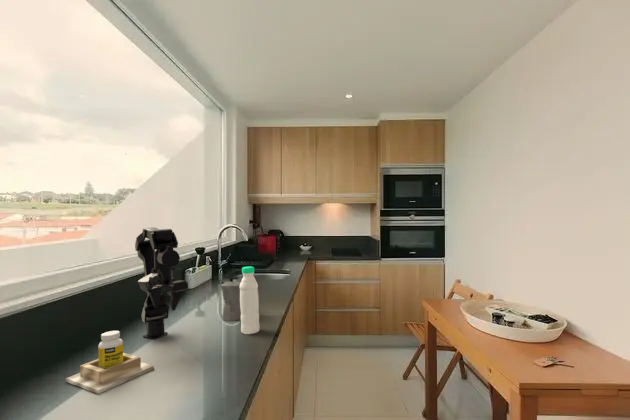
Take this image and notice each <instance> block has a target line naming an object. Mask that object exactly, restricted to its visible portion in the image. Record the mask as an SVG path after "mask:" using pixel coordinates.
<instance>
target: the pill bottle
mask: <svg viewBox="0 0 630 420" xmlns="http://www.w3.org/2000/svg"><path fill="white" fill-rule="evenodd" d="M120 337H121V331H119V330H110V331H105V332H104V333H101V334H100V339H101V341H100V342H99V344H98V346H97V347H98V348H97V351H98V358H97V359H99V368H102V369H107V368H109V367H112V366H114V365H117V364H120V363H122V362H123V353H124V341H123V339H122V338H120Z"/></svg>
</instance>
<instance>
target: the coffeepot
mask: <svg viewBox="0 0 630 420" xmlns="http://www.w3.org/2000/svg"><path fill="white" fill-rule="evenodd" d="M241 282H242V281H240V282H239V281H234V277H232V276H230V277H229V281H225V280H222V281H221V284H220V288H221V289H220V290H221V292H222V299H223V308H222V316H221V317H222V320H223V321H226V322H233V321H238V320H241V309H240V288H239V286H240V283H241Z"/></svg>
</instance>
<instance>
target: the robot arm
mask: <svg viewBox="0 0 630 420" xmlns="http://www.w3.org/2000/svg"><path fill="white" fill-rule="evenodd" d="M178 245H179V241H178V238H177V236H176V233H175V231H173V230H172V228H164V229H163V228H162V229H159V228H157V227H144V228H142V231H141V233H140V234H138V236H137V237H136V238H135V243H134V249H135V252H137V257H138V258H139V259H140V260H141V261H142V262H143V263H142V265H143V271H144V276H143V277H142V278H140V279H139V280H138V281H137V283H138V285H139V287H140V288H139V289H140V290H142V291H143V292H145V293H146V295H147V297H146V299H145V301H144V303H143V308H142V312H141V320H142V322H143V323H144V324H145V325H146V334H143V335H142V338H147V339H150V340H155V339H158V338H160V337H163V336H166V335H168V332H167V331H165V320H166V319H168V318H169V311H170V308H171V311H173V312H174V311H175V310H176V309H177V306H178V304H179V302H180V299H181V298H182V296H183V294H184V292H186V290H188V289H189V282H188V281H187V280H183V279H182V280H181V279H179V280H176V278H175V277H173V271H174V270H175V269H176V267H175V266H177V265H178V264H179V262H180V259H181V258H180V257H181V255H179V253H178V251H177V250H175V249H178V247H179V246H178ZM163 288H166V290H167V292H166V294H167V295H168V296H169V299H170V305H169V303H168V302H167V300H166V295H165V294H163V293H162V289H163Z"/></svg>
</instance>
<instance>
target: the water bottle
mask: <svg viewBox="0 0 630 420" xmlns="http://www.w3.org/2000/svg"><path fill="white" fill-rule="evenodd" d="M241 273H242V275H243V276H242V278H241V281H240V282H241V283H240V286H239V288H240V309H241V319H240V332H241V333H242V334H244V335H253V334H257V333H258V332H259V331H260V329H261V328H260V313H259V312H260V311H259V306H260V305H259V303H260V302H259V290H258V289H259V284H258V282H257V280H256V278H255V276H254V274H255V267H254V266H251V265H250V266H243V267H241Z"/></svg>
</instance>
